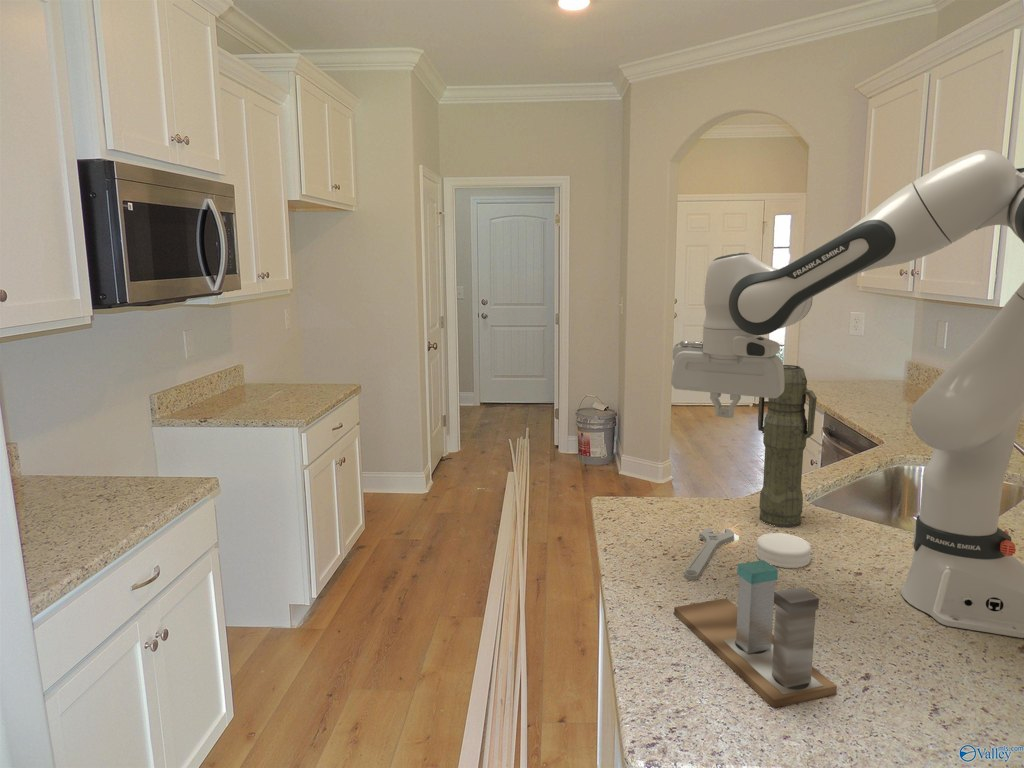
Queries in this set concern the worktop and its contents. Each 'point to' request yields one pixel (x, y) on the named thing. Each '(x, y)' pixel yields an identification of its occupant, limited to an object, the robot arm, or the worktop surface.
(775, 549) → the white flat disc
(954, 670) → the worktop surface
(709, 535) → the adjustable wrench
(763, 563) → the teal-lidded container
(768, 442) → the thermos
